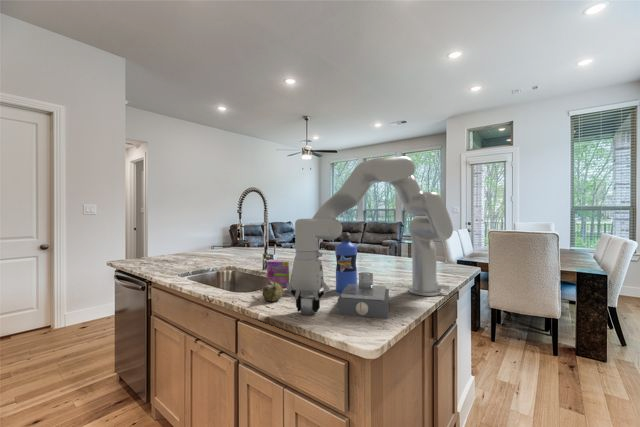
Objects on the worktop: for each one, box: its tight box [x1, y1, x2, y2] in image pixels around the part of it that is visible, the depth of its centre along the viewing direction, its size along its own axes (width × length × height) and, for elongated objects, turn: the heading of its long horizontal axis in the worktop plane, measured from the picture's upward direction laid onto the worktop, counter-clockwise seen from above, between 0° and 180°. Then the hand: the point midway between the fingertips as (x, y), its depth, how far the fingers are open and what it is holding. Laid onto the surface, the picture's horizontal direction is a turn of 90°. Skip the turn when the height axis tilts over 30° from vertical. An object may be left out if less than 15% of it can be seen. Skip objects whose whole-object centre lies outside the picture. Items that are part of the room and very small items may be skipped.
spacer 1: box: [299, 294, 315, 316], centre depth 95 cm, size 5×5×5 cm
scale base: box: [337, 287, 390, 319], centre depth 100 cm, size 16×17×5 cm
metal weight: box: [358, 271, 374, 289], centre depth 104 cm, size 5×5×5 cm
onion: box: [262, 280, 284, 302], centre depth 110 cm, size 8×8×8 cm
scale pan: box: [340, 284, 387, 301], centre depth 100 cm, size 14×14×1 cm
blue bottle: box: [334, 231, 358, 294], centre depth 123 cm, size 9×9×25 cm
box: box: [266, 259, 293, 288], centre depth 132 cm, size 10×6×12 cm, turn 80°
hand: (307, 309), depth 95 cm, fingers closed on spacer 1, 5 cm apart
